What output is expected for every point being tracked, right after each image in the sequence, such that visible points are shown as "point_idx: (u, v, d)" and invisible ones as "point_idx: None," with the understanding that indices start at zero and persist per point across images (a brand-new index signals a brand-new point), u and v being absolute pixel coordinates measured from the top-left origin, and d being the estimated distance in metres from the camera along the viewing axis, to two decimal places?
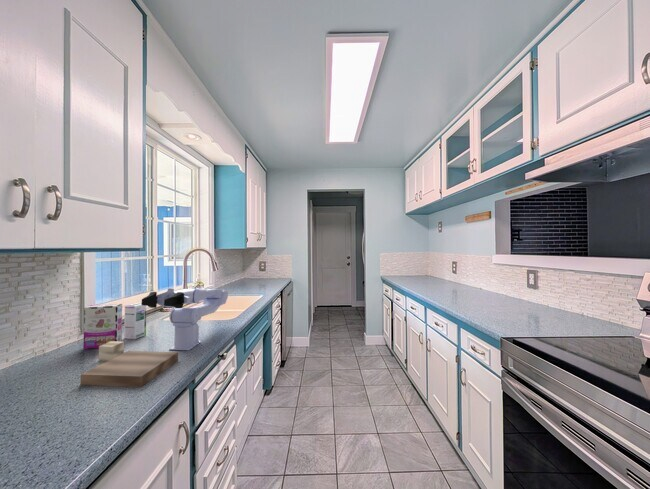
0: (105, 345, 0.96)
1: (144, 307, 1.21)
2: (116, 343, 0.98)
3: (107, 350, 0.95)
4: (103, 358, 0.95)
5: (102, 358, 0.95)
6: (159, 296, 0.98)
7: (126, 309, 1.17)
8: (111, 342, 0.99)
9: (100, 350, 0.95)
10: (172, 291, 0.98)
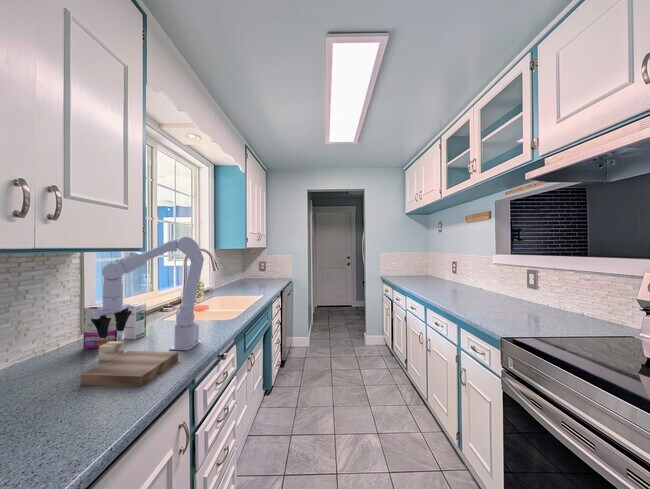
0: (105, 345, 0.96)
1: (144, 307, 1.21)
2: (116, 343, 0.98)
3: (107, 350, 0.95)
4: (103, 358, 0.95)
5: (102, 358, 0.95)
6: None
7: None
8: (111, 342, 0.99)
9: (100, 350, 0.95)
10: None
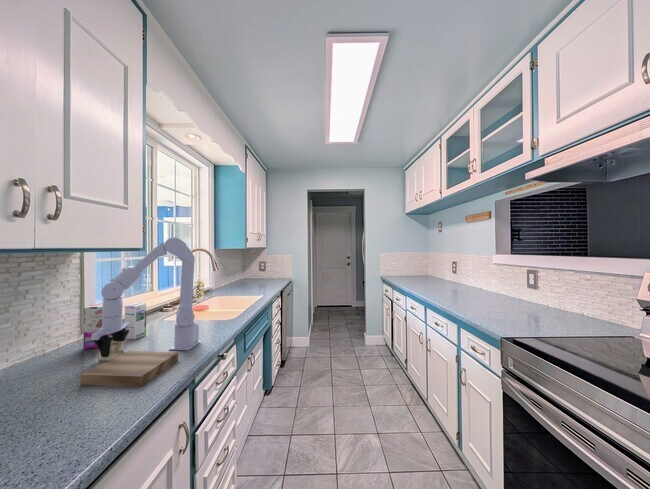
0: None
1: (144, 307, 1.21)
2: (116, 343, 0.98)
3: None
4: (103, 358, 0.95)
5: (102, 358, 0.95)
6: None
7: (126, 309, 1.17)
8: (111, 342, 0.99)
9: None
10: None
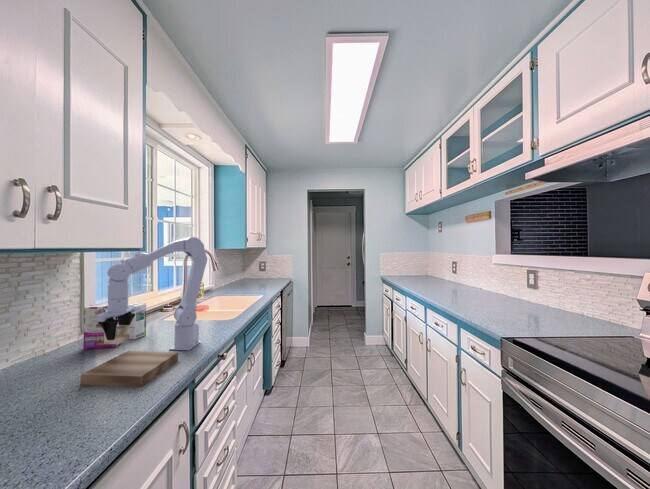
0: None
1: (144, 307, 1.21)
2: (121, 326, 0.95)
3: None
4: (108, 341, 0.92)
5: (107, 341, 0.92)
6: None
7: None
8: None
9: None
10: None
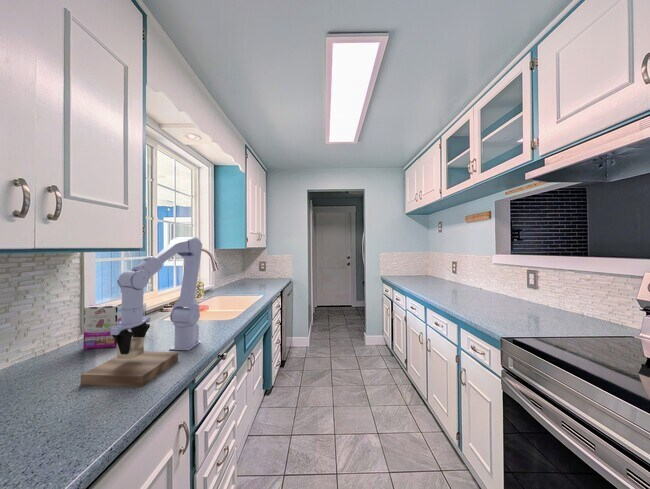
0: None
1: (144, 307, 1.21)
2: (135, 339, 0.87)
3: None
4: (122, 356, 0.84)
5: (120, 356, 0.84)
6: None
7: None
8: None
9: (118, 347, 0.84)
10: None
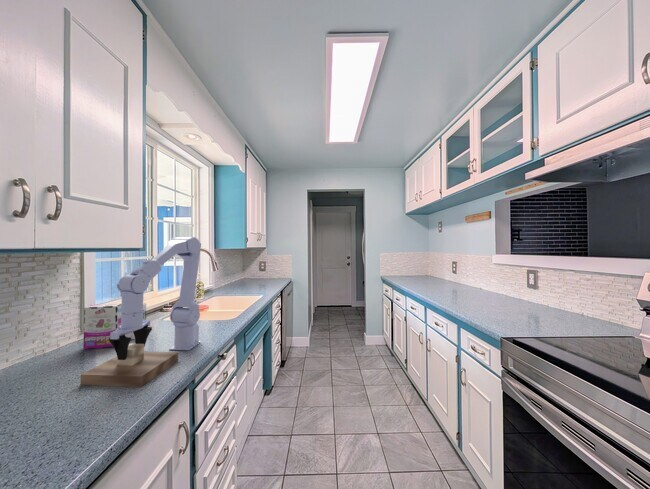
0: None
1: (144, 307, 1.21)
2: (136, 345, 0.87)
3: None
4: (122, 362, 0.84)
5: (121, 362, 0.84)
6: None
7: None
8: (130, 344, 0.88)
9: None
10: None
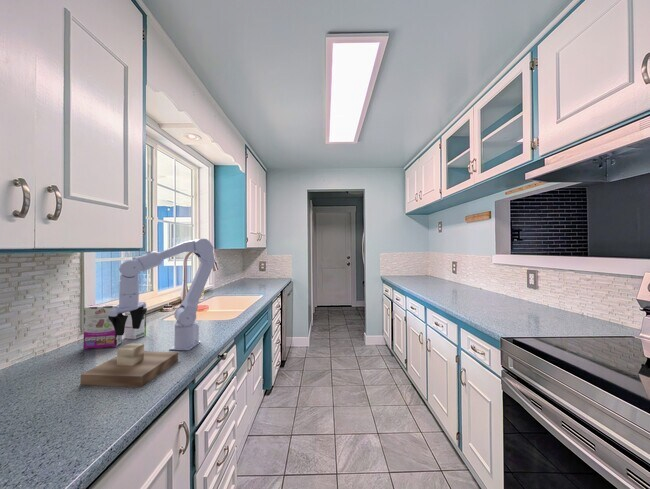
0: (124, 348, 0.85)
1: (144, 307, 1.21)
2: (136, 345, 0.87)
3: (126, 353, 0.84)
4: (122, 362, 0.84)
5: (121, 362, 0.84)
6: None
7: None
8: (130, 344, 0.88)
9: (118, 354, 0.84)
10: None
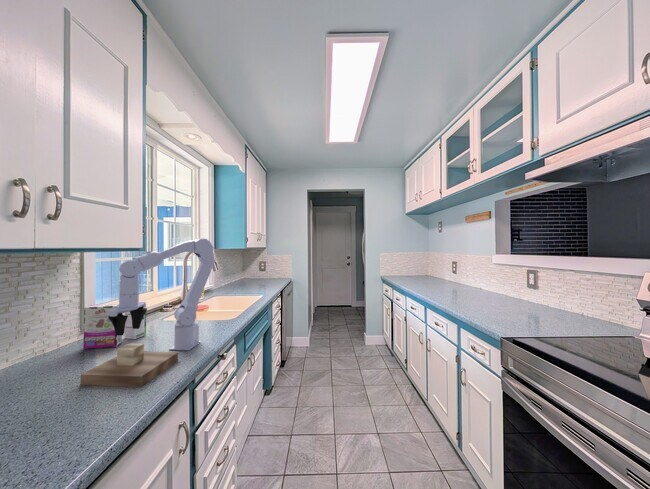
0: (124, 348, 0.85)
1: (144, 307, 1.21)
2: (136, 345, 0.87)
3: (126, 353, 0.84)
4: (122, 362, 0.84)
5: (121, 362, 0.84)
6: None
7: None
8: (130, 344, 0.88)
9: (118, 354, 0.84)
10: None
